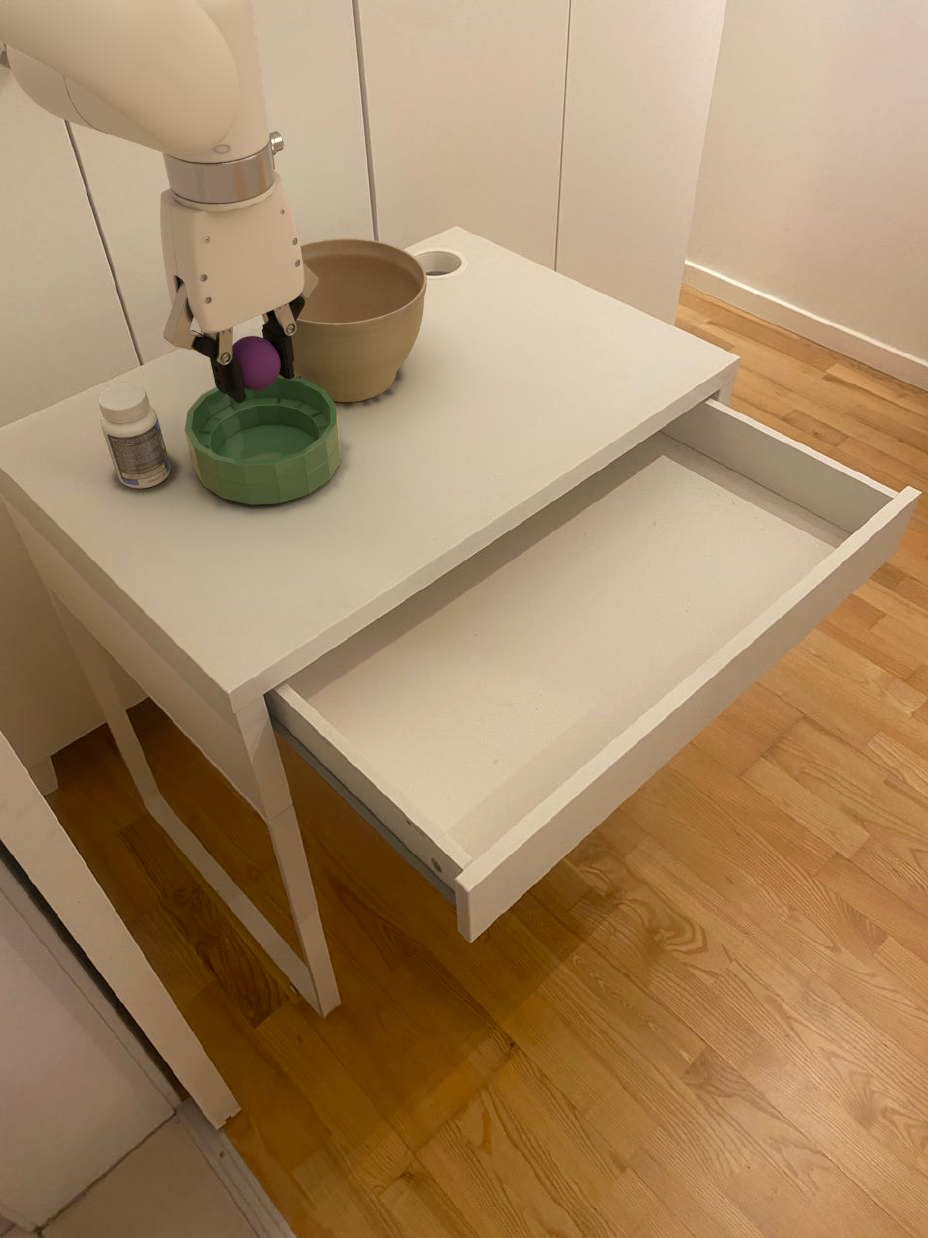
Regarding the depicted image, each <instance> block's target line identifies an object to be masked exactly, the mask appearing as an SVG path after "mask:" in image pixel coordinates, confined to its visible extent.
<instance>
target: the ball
mask: <svg viewBox="0 0 928 1238" xmlns="http://www.w3.org/2000/svg"><path fill="white" fill-rule="evenodd" d="M232 356H233V357H234V358H236V359H237V360H238V361H239V363H240V366H241V372H242V377H243V383H244V388H247V389H250V390H260V389H264V388H266V387H268V386H270V385H271V384H272V383H273V382H274V381H275V380H276V378H277V377H278V374H279V372H280V357H279V354H278V352H277V350H276V348H275V347H274V346H273V345H272V344H271V343H270V342H269V341H267V340H266V339H264V338H263V337H262V336H257V335H248V336H243V337H241V338H240V339H238V340H236V341H235V342H234V343H233V345H232Z"/></svg>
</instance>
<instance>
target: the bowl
mask: <svg viewBox="0 0 928 1238" xmlns="http://www.w3.org/2000/svg"><path fill="white" fill-rule="evenodd" d="M245 393H246V399H245V401H244V402H242V403H240V404H239V403H237V402H236V401H235V400H234V399H232V398H231V397H230V396H228V395H227V394H226V393H225V394H223V393H222V392H221V391H220V390H219V389H218V388H217V386H216V385H215V386H214V387H213V388H211V389H209V390H208V391H206V392H204V393H202V394H201V395H200V396H199V397H198V398H197V399H196V400H195V402H194V403H193V404H192V405H191V407H190V408H189V409H188V410H187V411H186V418H185V426H184V434H185V437H186V442H187V447H188V450H189V454H190V458H191V461H192V467H193V470H194V471H195V473H196V475H197V477H198V479H199V481H200V483H201V484H202V486H203V487H205V488H206V489H208V490H209V491H210V492H212V493H214V494H215V495H217V496H218V497H220V498H222V499H224V500H227V501H228V500H229V501H233V502H237V503H241V504H246V505H253V506H254V505H270V504H271V505H272V504H283V503H285V502H288V501H292V500H294V499H298V498H301V497H305V496H308V495H310V494H312V493H313V492H314V491H316V490H317V489H318V488H320V487H321V486H323V485H324V484H326V483H327V482H328V481H330V480H331V478H332V476H333V475H334V474H335V472H336V470H337V468H338V467H339V465H340V464H341V461H342V460H341V459H342V458H341V456H342V455H341V438H340V437H341V436H340V428H339V427H340V426H339V416H338V407H337V403H335V401H333V400H332V399H331V397H330V396H329V395H328V393H327V392H326V391H325V390H324V389H322V388H320V387H319V386H317V385H315V384H313V383H311V382H309V381H307V380H306V379H302V378H301V377H297V376H295V377H294V378H292V379H290V380H288V379H285V378H284V377H282V376H281V375H279V374H278V377H277V378H276V380H275V381H274V382H273V383H272V384H271V385H270V386H268V387H266V388H264V389H260V390H250V389H247V388H245Z"/></svg>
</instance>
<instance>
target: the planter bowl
mask: <svg viewBox="0 0 928 1238" xmlns="http://www.w3.org/2000/svg"><path fill="white" fill-rule="evenodd" d="M300 247H301V254H302V260H303V262H304V263H305V264H306V265H307V266H308V267H309V268H310V269H311V270H312V271H313V272H314V273H315V274H316V275H317V276H318V278H319V283H318V285H317V286H316V288H315V289H314V290H313V292H312V293H311V295H310V296H309V297H308V299H305V305H304V307H303V309H302V311H301V313H300V314H299V316H298V318H297V320H296V322H295V323H296V326H297V328H296V331H295V333H294V334H293V335H291V338H292V345H293V353H294V361H293V367H294V373H295V374H296V375H298V376H299V378H302V379H306V380H307V381H309V382H311V383H313V384H315V385H317V386H319V387H320V388H322V389H324V390H325V391H326V392H327V393H328V395H329V396H330V397H331V399H332V400H333V401H334V402H339V403H352V402H361V401H365V400H369V399H372V398H374V397H377V396H379V395H381V394H383V393H384V392H385V391H387V390H388V389H389V388H390V387H391V386H392V385H393V383H394V382H395V379H396V376H397V372H398V371H399V369H400V368H401V367H402V366H403V364H404V363H405V362H406V360H407V358H408V357H409V355H410V353H411V351H412V350H413V348H414V346H415V343H416V341H417V338H418V336H419V333H420V330H421V327H422V321H423V318H424V317H423V315H424V309H425V294H426V291H427V285H428V283H427V282H428V278H427V272H426V269H425V267H424V265H423V264H422V262H421V261H420V260H419V259H418V258H417V257H416V256H414V255H413V254H412V253H410V252H409V251H407V250H406V249H403V248H401V247H399V246H396V245H393V244H390V243H387V242H384V241H380V240H374V239H368V238H357V237H338V238H327V239H320V240H319V239H318V240H314V241H313V240H312V241H308V242H304V243H300ZM261 316H262V320H263V324H265V323H267V320H266V318H265V316H264V314H262V315H261Z"/></svg>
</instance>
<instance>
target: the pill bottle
mask: <svg viewBox="0 0 928 1238" xmlns="http://www.w3.org/2000/svg"><path fill="white" fill-rule="evenodd" d="M97 402H98V406H99V409H100V412H101V418H100V427H101V430H102V433H103V436H104V438H105V442H106V445H107V449H108V451H109V453H110V457H111V460H112V463H113V467H114V470H115V472H116V475H117V478H118V479H119V481H120V482H121V484H122V485H125V486H126V487H129V488H132V489H148V488H151V487H154V486H157V485H159V484H161V483H162V482H163V481H165V480H166V479H167V478H168V476H169V475H170V472H171V462H170V458H169V455H168V451H167V448H166V445H165V444H166V443H165V441H164V436H163V433H162V430H161V425H160V422H159V417H158V415H157V414H158V413H157V412H156V410H155V408H154V407H153V406H152V405H150V399H149V397H148V394H147V391H146V390H145V388H144V387H143V386H142V385H141V384H138V383H135V382H127V381H126V382H119V383H114V384H111V385H109V386H107V387H106V388H104V389H103V390H102V391H101V392H100V393H99V395H98V397H97Z"/></svg>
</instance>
